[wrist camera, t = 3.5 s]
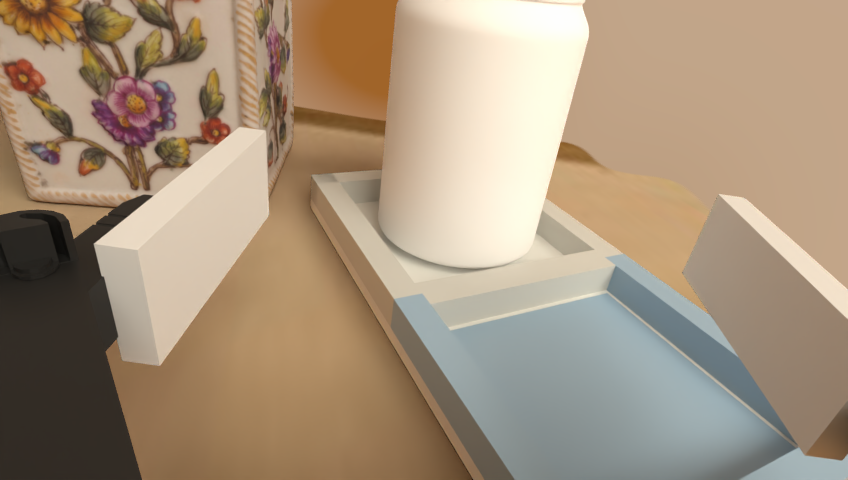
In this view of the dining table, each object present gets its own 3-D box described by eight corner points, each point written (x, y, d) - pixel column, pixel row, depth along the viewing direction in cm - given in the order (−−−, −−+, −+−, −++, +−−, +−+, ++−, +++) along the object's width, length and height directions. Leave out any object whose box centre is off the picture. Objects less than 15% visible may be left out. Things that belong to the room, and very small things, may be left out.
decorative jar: (262, 225, 27) (241, -231, 17) (20, 207, 25) (-139, -298, 16) (296, 144, 37) (295, -169, 28) (126, 128, 35) (65, -207, 26)
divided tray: (310, 207, 29) (310, 174, 28) (488, 189, 34) (493, 161, 33) (585, 667, 12) (612, 626, 10) (859, 486, 17) (894, 447, 16)
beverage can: (358, 260, 24) (378, -30, 17) (394, 190, 30) (417, -35, 24) (532, 293, 23) (615, 4, 17) (528, 214, 30) (586, -10, 24)
